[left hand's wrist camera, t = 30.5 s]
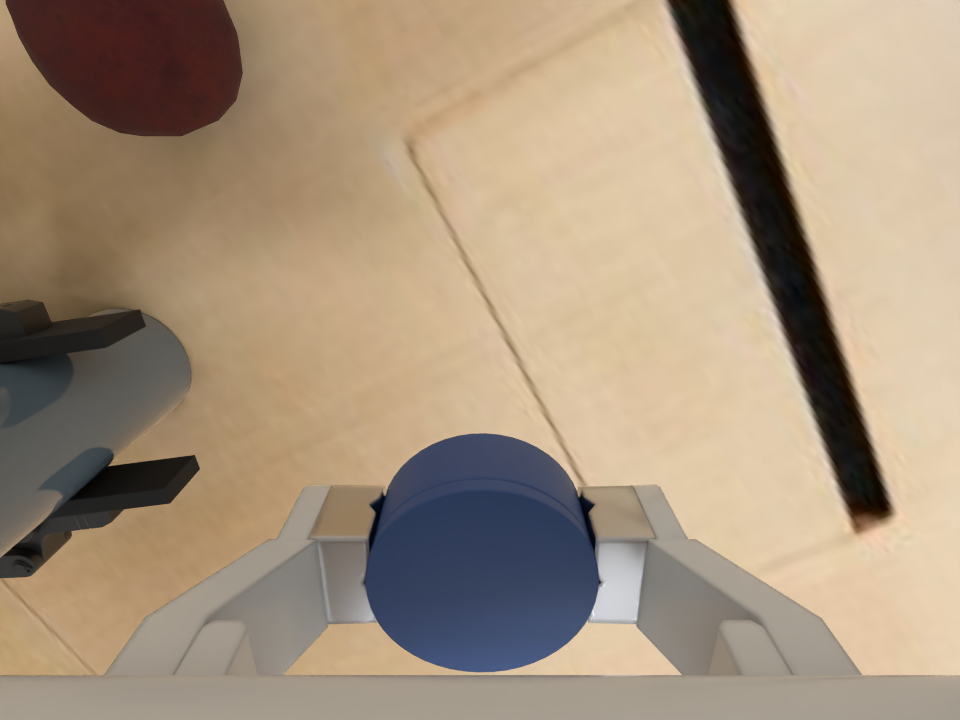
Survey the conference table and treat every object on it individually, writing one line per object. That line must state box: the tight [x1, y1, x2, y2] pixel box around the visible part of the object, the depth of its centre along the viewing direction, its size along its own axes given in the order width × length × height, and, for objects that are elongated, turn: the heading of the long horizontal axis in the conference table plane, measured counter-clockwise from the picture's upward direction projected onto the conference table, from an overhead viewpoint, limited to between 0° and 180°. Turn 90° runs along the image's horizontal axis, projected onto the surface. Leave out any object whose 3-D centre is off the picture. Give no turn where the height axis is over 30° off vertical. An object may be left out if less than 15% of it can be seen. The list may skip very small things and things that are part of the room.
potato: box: [6, 0, 243, 136], centre depth 21 cm, size 7×8×7 cm
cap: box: [365, 434, 599, 672], centre depth 10 cm, size 4×4×2 cm
